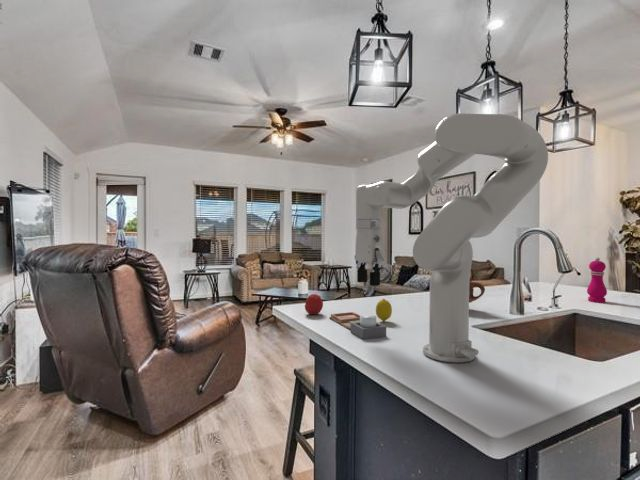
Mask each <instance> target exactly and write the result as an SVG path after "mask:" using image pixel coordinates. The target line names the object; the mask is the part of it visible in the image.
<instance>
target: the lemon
mask: <svg viewBox="0 0 640 480" xmlns="http://www.w3.org/2000/svg"><path fill="white" fill-rule="evenodd" d="M392 309H393V308H392V305H391V303H390V301H388V300H386V298H382V299H381V300H379V301H378V302H377V304H376V306H375V314H376V315H375V316H376V318H378V320H381V321H382V322H383V323H384V322H386V321H387V320H388V319H390V318H391V316H392V313H393V312H392V311H393V310H392Z"/></svg>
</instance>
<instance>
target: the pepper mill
mask: <svg viewBox="0 0 640 480" xmlns="http://www.w3.org/2000/svg"><path fill="white" fill-rule="evenodd" d="M588 268H589V270H590V275H591V276H590V277H591V278H590V283H589V284H588V287H587V289H586V293H587V294H588V297H587V301H588V302H590V303H596V304H597V303H598V304H599V303H600V304H604V303H605V304H606V301H607V300H606V298H605V296H606V297H607V294H608V291H607V288H606V285H605V283H604V278H603V277H604V275H605V272H604V271H605V270H606V268H607V266H606V264H605V262H603V261H601V258H600V257H599V256H597V257H595V258H594V260H592V261H591V262H589V264H588Z"/></svg>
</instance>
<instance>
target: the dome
mask: <svg viewBox="0 0 640 480" xmlns="http://www.w3.org/2000/svg"><path fill="white" fill-rule="evenodd" d="M360 315H361V316H360V326H361V327H363V328H368V327H376V322H377V315H373V314H360Z"/></svg>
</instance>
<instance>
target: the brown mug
mask: <svg viewBox="0 0 640 480" xmlns="http://www.w3.org/2000/svg"><path fill="white" fill-rule="evenodd" d="M476 287H477V288H479V290H480V294H479V295H477V296H475V295H474V289H475V288H476ZM485 291H486V289H485V285H483V283H481V282H480V281H475V280H473V279H472V277H471V276H470V281H469V304H470V303H473V302H475V301H477V300H478V299H480V298H481V297H482V296H483V295H484V294H485Z"/></svg>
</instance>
